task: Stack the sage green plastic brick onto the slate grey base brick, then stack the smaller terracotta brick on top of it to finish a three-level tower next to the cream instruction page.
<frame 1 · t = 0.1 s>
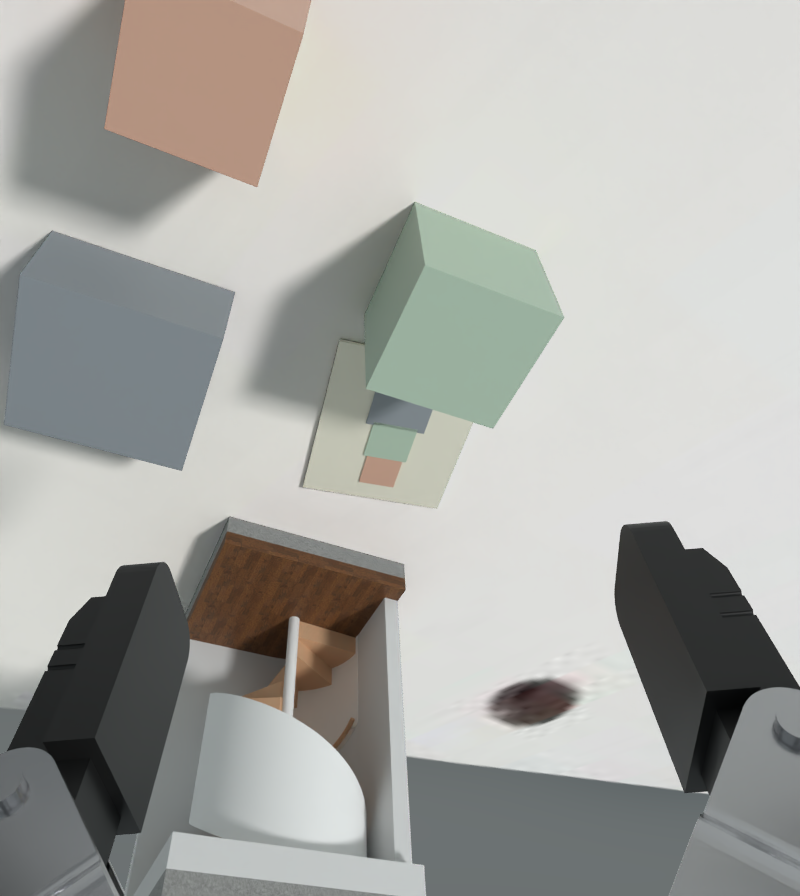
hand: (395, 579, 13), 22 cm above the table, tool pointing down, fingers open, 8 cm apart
brick terracotta: (226, 39, 27), on the table
instruction page: (392, 430, 40), on the table
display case: (290, 589, 48), on the table
brick sage: (447, 283, 34), on the table
base brick: (130, 334, 35), on the table
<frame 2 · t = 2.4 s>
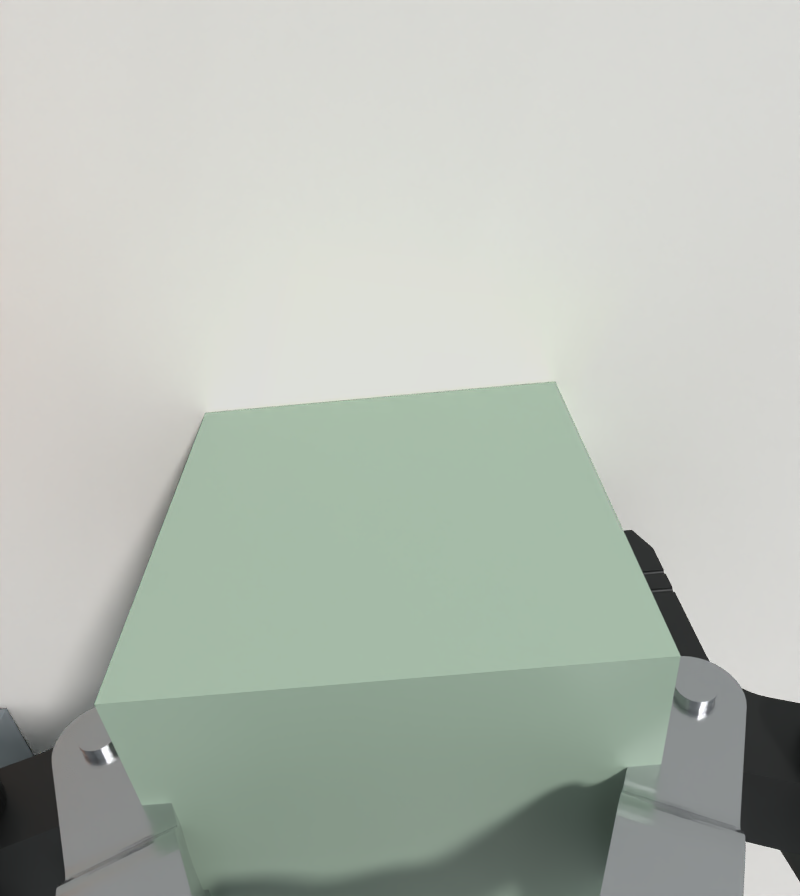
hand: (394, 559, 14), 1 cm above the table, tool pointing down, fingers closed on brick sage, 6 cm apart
brick sage: (394, 533, 14), on the table, touching gripper
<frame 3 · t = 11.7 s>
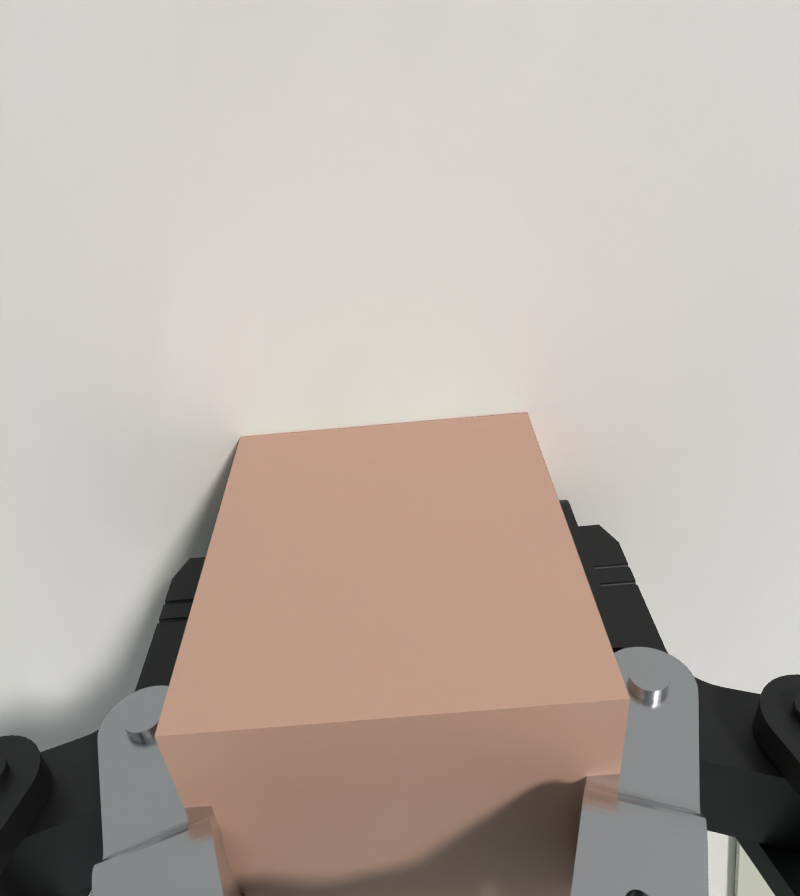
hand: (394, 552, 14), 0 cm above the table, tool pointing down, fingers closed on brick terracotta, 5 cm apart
brick terracotta: (395, 535, 14), on the table, touching gripper
when the fingers open (11 cm above the table, at t = 16.3 s): brick terracotta stays where it is, resting on brick sage.
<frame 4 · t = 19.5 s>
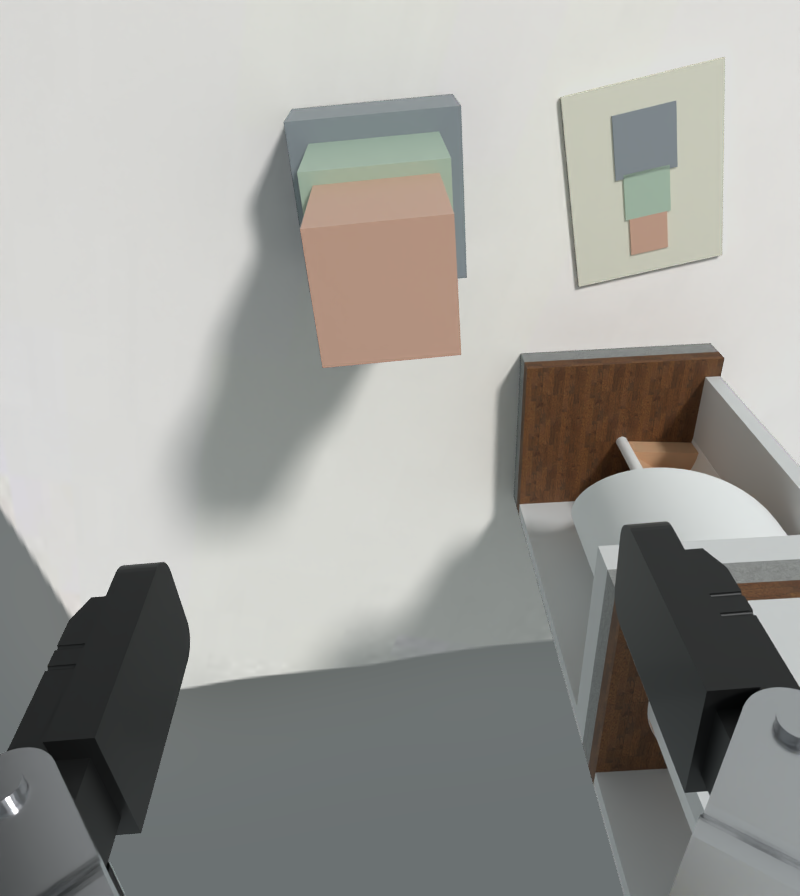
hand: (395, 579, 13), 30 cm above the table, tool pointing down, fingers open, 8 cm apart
brick terracotta: (382, 242, 30), point 10 cm above the table, touching brick sage
instruction page: (645, 180, 39), on the table
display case: (605, 423, 47), on the table
brick sage: (380, 204, 35), point 4 cm above the table, touching base brick, brick terracotta
base brick: (379, 184, 38), on the table
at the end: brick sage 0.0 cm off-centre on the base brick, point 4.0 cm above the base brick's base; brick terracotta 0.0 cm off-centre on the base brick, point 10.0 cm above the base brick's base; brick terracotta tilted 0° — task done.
